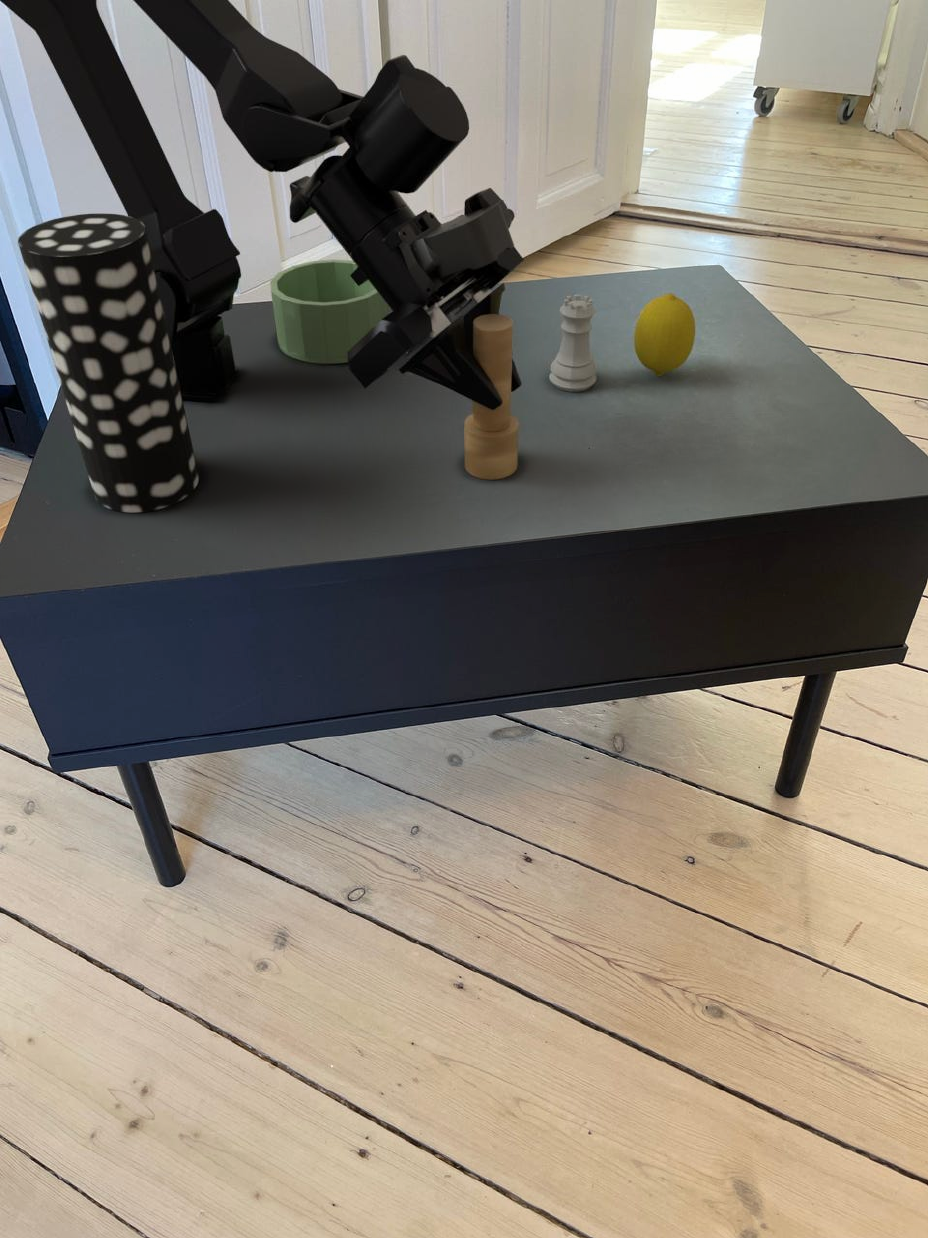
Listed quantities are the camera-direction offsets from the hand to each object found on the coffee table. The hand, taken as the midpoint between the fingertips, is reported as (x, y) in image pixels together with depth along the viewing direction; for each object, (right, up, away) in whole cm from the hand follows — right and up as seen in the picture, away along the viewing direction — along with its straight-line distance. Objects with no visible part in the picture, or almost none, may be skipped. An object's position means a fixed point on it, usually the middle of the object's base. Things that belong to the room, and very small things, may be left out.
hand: (507, 397), depth 76 cm
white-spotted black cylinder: (-29, -6, +3) cm, 30 cm away
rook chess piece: (+7, +5, +16) cm, 18 cm away
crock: (-17, +11, +23) cm, 31 cm away
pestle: (-1, -5, +5) cm, 7 cm away
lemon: (+15, +6, +17) cm, 24 cm away
